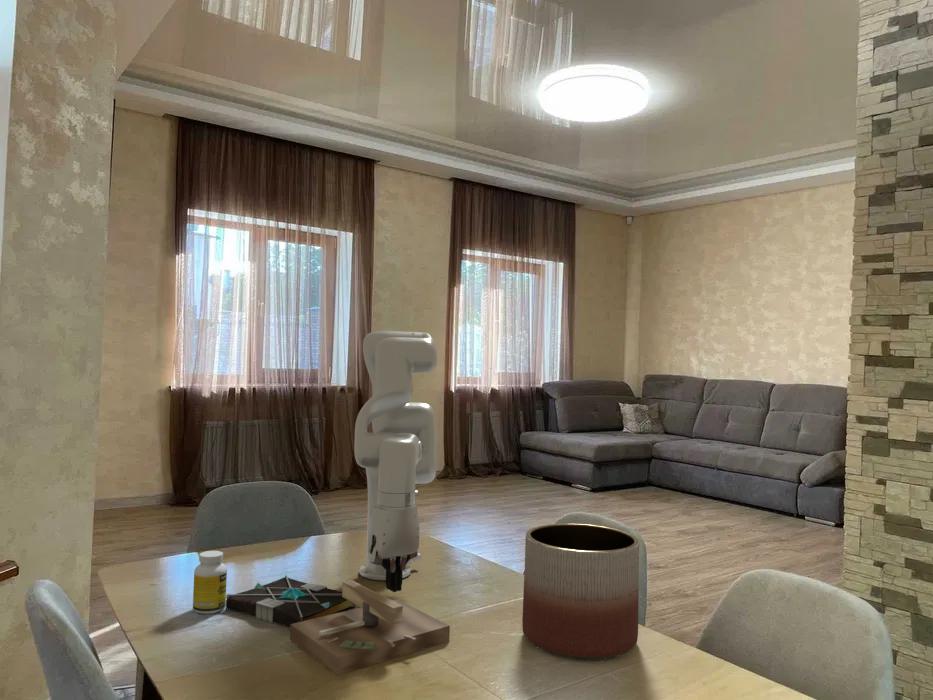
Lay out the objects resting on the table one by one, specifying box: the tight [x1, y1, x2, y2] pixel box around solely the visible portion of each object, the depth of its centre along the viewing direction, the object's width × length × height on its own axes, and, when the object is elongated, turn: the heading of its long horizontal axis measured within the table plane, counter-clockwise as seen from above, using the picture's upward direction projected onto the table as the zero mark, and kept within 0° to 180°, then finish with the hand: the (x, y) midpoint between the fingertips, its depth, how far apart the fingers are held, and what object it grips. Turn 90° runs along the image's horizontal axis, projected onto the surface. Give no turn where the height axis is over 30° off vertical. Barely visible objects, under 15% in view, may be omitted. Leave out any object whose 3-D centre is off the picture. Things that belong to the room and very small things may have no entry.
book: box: [225, 574, 356, 629], centre depth 150 cm, size 22×17×5 cm
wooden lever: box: [319, 579, 403, 636], centre depth 132 cm, size 12×18×6 cm, turn 40°
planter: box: [521, 522, 640, 661], centre depth 138 cm, size 22×22×20 cm
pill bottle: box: [192, 550, 228, 615], centre depth 148 cm, size 6×6×12 cm
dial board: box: [289, 598, 451, 676], centre depth 134 cm, size 24×20×3 cm
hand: (393, 589), depth 144 cm, fingers closed
